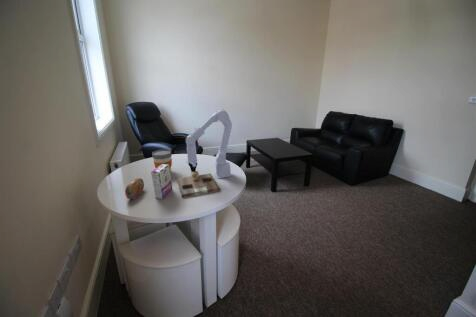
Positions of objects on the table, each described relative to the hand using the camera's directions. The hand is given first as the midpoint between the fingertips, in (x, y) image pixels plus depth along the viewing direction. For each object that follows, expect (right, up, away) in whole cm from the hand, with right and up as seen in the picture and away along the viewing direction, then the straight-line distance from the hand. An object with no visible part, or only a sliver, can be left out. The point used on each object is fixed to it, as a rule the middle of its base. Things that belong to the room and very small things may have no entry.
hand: (193, 172), depth 145 cm
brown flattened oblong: (-29, -11, -21) cm, 37 cm away
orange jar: (-22, 0, +9) cm, 24 cm away
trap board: (+5, -7, -11) cm, 14 cm away
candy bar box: (-13, -11, -20) cm, 26 cm away
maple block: (+2, -3, -6) cm, 7 cm away
